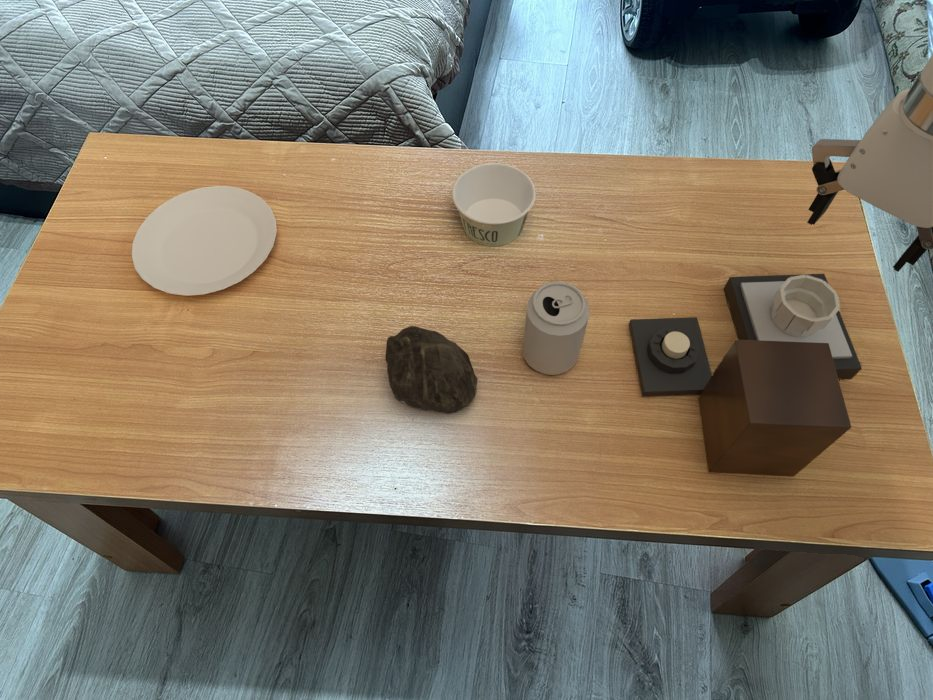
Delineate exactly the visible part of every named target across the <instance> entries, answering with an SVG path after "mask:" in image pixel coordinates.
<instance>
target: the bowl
mask: <svg viewBox="0 0 933 700" xmlns="http://www.w3.org/2000/svg"><path fill="white" fill-rule="evenodd" d="M798 275H799V274H798ZM794 288H797V289H794ZM799 288H802V289H799ZM788 289H791V290H788ZM803 289H805V290H803ZM785 290H786V291H785ZM806 290H808V291H806ZM810 291H811V292H810ZM813 292H814V293H815V294H814V293H813ZM817 295H818V296H819V297H820V298H821V299H822V300H823V301H824V302H825V303H826V304H825V303H824V302H823V301H822V300H821V299H820V298H819V297H818V296H817ZM773 299H774V305H773V307H772V311H771V316H772V319H773V322H774V323H775V325H776V326H777V327H778V328H779V329H780V330H781V331H783V332H784V333H786V334H788V335H791V336H795V337H806V336H810V335H812V334H813V333H815V332H816V331H817V330H819V329H823V328H825V327H826V325H827V324H828V323H829V322H830V321H831V319H832V318H833V317H834V316H835V314H836V313H837V312H838V310H839V311H840V309H841V304H840V298H839V295H838V293H837V291H836V290H835V289H834V288H833V287H832V286H831V285H830V284H829V283H828V284H827V283H826V282H825V281H823V280H822V279H819V278H815V277H812V276H809V275H799V276H793V277H789V278H788V279H787V280H786V281H785V282H784V283H783V285H782V286H781V287H780V288H779V290H778V291H777V293H776V294H775V296H774V298H773ZM826 307H827V309H826ZM827 312H828V314H827Z"/></svg>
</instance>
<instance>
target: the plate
mask: <svg viewBox="0 0 933 700" xmlns="http://www.w3.org/2000/svg"><path fill="white" fill-rule="evenodd" d="M277 229H278V228H277V219H276V216H275V214H274V212H273V210H272V208H271V206H270V205H269V204H268V203H267V202H266V201H265V200H264V199H263V198H262V197H260V196H259V195H257V194H255V193H254V192H252V191H249V190H247V189H243V188H241V187H238V186H228V185H212V186H203V187H199V188H194V189H191V190H187V191H185V192H182V193H180V194H178V195H175V196H172V197H171V198H169V199H168V200H166V201H165V202H163V203H161V204H160V205H158V206H157V207H156V208H155V209H154V210H153V211H152V212H151V213H149V215H147V216H146V217H145V219H144V220H143V221H142V223H141V224H140V226H139V227H138V229H137V230H136V233H135V236H134V237H133V241H132V245H131V246H132V247H131V260H132V263H133V267H134V269H135V271H136V273H137V274H138V275H139V277H140V278H141V279H142V281H144V282H145V283H147V284H148V285H149V286H150V287H152V288H154V289H156V290H158V291H161V292H164V293H166V294H168V295H176V296H177V295H178V296H184V297H189V296H200V295H201V296H202V295H209V294H211V293H216V292H219V291H223V290H225V289H227V288H229V287H232V286H234V285H236V284H238V283H240V282H241V281H243V280H244V279H246V278H248V277H249V276H251V274H253V273H254V272H256V270H257V269H258V268H259V267H260V266H261V265H263V263H264V262H265V261H266V260H267V258H268V256H269V255H270V253H271V251H272V249H273V248H274V245H275V242H276V237H277V233H278V231H277Z"/></svg>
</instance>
